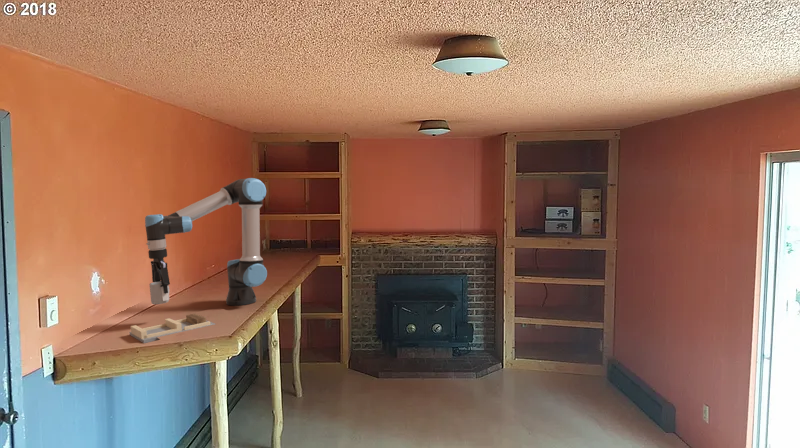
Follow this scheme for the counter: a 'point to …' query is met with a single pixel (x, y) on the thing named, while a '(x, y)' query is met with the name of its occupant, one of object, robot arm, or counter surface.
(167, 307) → the counter surface
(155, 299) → the cup
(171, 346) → the counter surface
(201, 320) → the brown rounded bar
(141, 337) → the jig
